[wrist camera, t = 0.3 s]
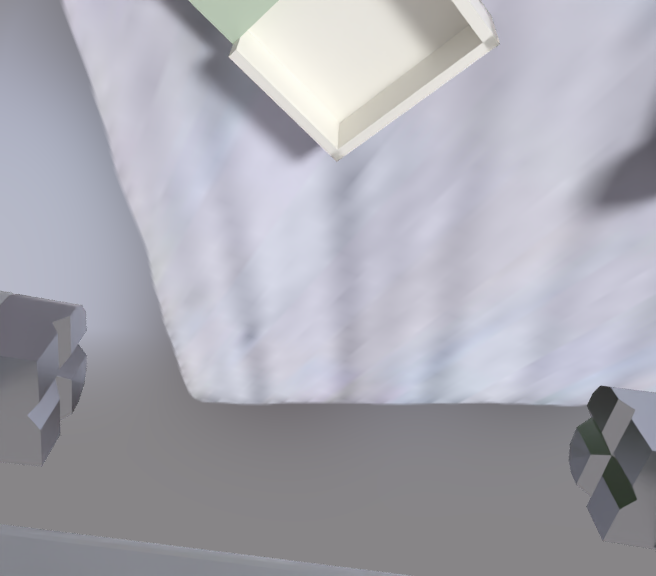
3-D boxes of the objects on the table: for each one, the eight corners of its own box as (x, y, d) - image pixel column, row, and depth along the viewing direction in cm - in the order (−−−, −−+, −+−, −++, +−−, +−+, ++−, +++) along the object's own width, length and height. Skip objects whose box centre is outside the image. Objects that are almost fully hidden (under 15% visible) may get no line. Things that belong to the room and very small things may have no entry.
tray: (393, -122, 48) (395, -102, 45) (491, 16, 56) (499, 43, 52) (238, 29, 58) (228, 57, 54) (338, 131, 65) (336, 161, 61)
